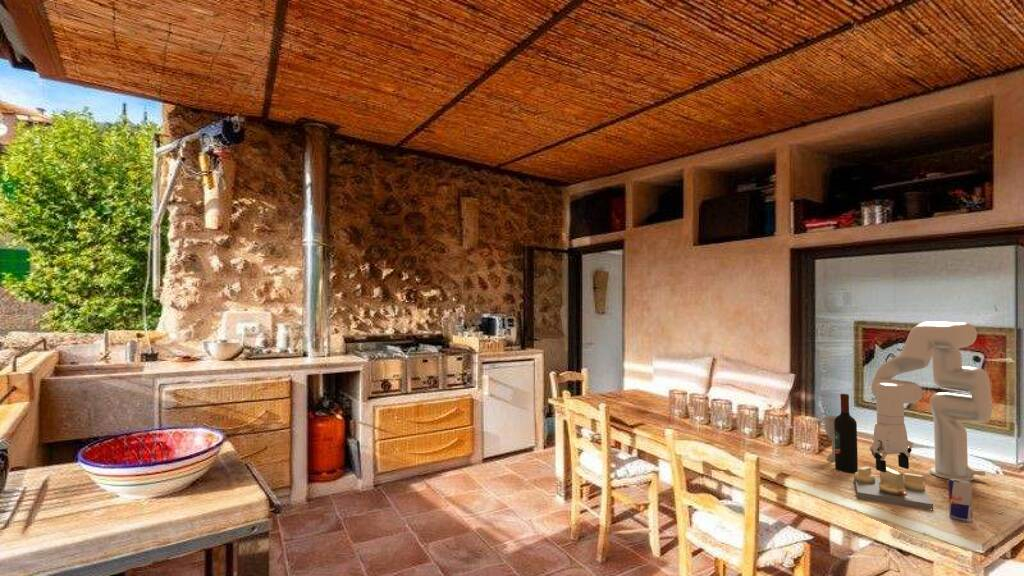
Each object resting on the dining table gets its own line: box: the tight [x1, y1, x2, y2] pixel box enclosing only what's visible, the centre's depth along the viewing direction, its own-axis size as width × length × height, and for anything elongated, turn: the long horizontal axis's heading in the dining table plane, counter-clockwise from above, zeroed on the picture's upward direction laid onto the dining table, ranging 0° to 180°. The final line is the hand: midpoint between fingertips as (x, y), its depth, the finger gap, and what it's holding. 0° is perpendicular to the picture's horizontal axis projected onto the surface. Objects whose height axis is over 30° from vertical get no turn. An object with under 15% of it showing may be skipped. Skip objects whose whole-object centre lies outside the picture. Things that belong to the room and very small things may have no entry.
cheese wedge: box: [879, 466, 907, 496], centre depth 170 cm, size 9×7×7 cm
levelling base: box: [853, 466, 934, 511], centre depth 174 cm, size 20×20×6 cm
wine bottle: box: [834, 393, 859, 474], centre depth 200 cm, size 8×8×30 cm
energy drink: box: [947, 477, 974, 524], centre depth 154 cm, size 5×5×12 cm
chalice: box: [822, 415, 838, 463], centre depth 212 cm, size 7×7×18 cm
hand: (892, 469), depth 171 cm, fingers open, 9 cm apart
